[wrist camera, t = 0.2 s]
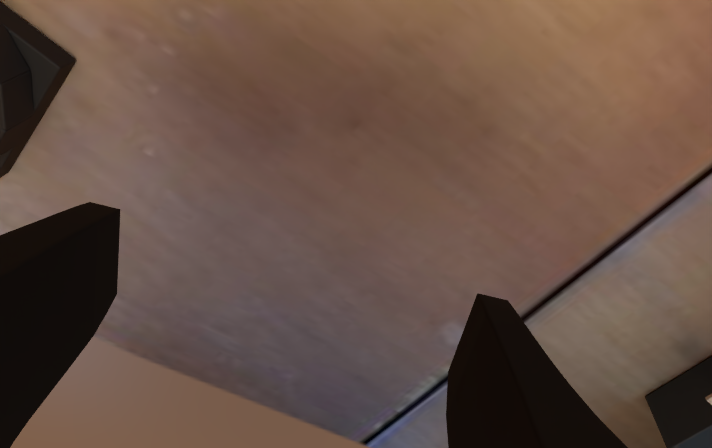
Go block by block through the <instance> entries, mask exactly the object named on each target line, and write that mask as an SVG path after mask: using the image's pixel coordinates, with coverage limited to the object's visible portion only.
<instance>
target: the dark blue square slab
mask: <svg viewBox="0 0 712 448" xmlns="http://www.w3.org/2000/svg"><path fill="white" fill-rule="evenodd" d="M645 398H646V400H647V403H648V405H649V407H650V410H651V412H652V414H653V417H654V419H655V421H656V424H657V426H658V428H659V431H660V433H661V435H662V438H663V440H664V442H665V445H666V447H667V448H712V357H710V358H708V359H707V360H705V361H704V362H702V363H700V364H699V365H697V366H695V367H694V368H692V369H690V370H689V371H687V372H685V373H684V374H682V375H680V376H679V377H677V378H675V379H674V380H672V381H670V382H669V383H667V384H666V385H664V386H662V387H661V388H659V389H657V390H656V391H654V392H652V393H651V394H649V395H647V396H646V397H645Z"/></svg>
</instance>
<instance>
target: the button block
mask: <svg viewBox="0 0 712 448" xmlns="http://www.w3.org/2000/svg"><path fill="white" fill-rule="evenodd" d="M74 63H75V59H74V58H73V57H71V56H70V55H69V54H67V53H66V52H65V51H64V50H62V49H61V48H60V47H58V46H57V45H56V44H54V43H53V42H52V41H50V40H49V39H48V38H47V37H45V36H44V35H43V34H41V33H40V32H39V31H37V30H36V29H35V28H33V27H32V26H31V25H30V24H28V23H27V22H26V21H24V20H23V19H22V18H20V17H19V16H18V15H16V14H15V13H14V12H12V11H11V10H10V9H9V8H7V7H6V6H5V5H3V4H2V3H1V2H0V178H1V177H2V176H4V175H5V174H7V173H8V172H9V171H10V169H11V167H12V166H13V164H14V162H15V161H16V159H17V157H18V156H19V154H20V152H21V151H22V149H23V147H24V146H25V144H26V142H27V141H28V139H29V137H30V136H31V134H32V133H33V131H34V129H35V128H36V126H37V124H38V123H39V121H40V119H41V118H42V116H43V114H44V113H45V111H46V109H47V108H48V106H49V104H50V103H51V101H52V100H53V98H54V96H55V95H56V93H57V91H58V90H59V88H60V86H61V85H62V83H63V81H64V80H65V78H66V76H67V75H68V73H69V71H70V70H71V68H72V66H73V65H74Z"/></svg>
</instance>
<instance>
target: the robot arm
mask: <svg viewBox="0 0 712 448" xmlns="http://www.w3.org/2000/svg"><path fill="white" fill-rule="evenodd" d="M119 227H120V209H116V208H112V207H108V206H104V205H99V204H95V203H91V202H89V203H86V204H82V205H79V206H76V207H73V208H71V209H68V210H65V211H62V212H60V213H57V214H55V215H52V216H49V217H47V218H44V219H42V220H39V221H37V222H34V223H31V224H29V225H26V226H24V227H21V228H18V229H16V230H13V231H10V232H8V233H5V234H3V235H0V448H10V447H11V445H12V444H13V442H14V440H15V439H16V438H17V436H18V435H19V433H20V432H21V430H22V429H23V428H24V426H25V425H26V423H27V422H28V421H29V419H30V418H31V417H32V415H33V414H34V413H35V411H36V410H37V409H38V408H39V406H40V405H41V404H42V402H43V401H44V400H45V399H46V397H47V396H48V395H49V393H50V392H51V391H52V389H53V388H54V387H55V385H56V384H57V383H58V381H59V380H60V379H61V378H62V377H63V375H64V374H65V373H66V371H67V370H68V369H69V367H70V366H71V365H72V363H73V362H74V361H75V360H76V358H77V357H78V356H79V354H80V353H81V351H82V350H83V349H84V348H85V346H86V345H87V344H88V342H89V341H90V340H91V338H92V337H93V335H94V334H95V332H96V331H97V329H98V327H99V325H100V324H101V322H102V320H103V319H104V317H105V315H106V313H107V311H108V309H109V308H110V306H111V304H112V302H113V300H114V298H115V296H116V295H117V278H118V253H119ZM446 419H447V433H448V445H449V448H627V446H626V445H625V444H624V443H623V442H622V441H621V440H620V439H619V438H618V437H617V436H616V435H615V434H614V433H613V432H612V431H611V430H610V429H609V428H608V427H607V426H606V425H605V424H604V423H603V422H602V421H601V420H600V419H599V418H598V417H597V416H596V415H595V413H594V412H593V411H592V410H591V409H590V408H589V407H588V406H587V404H586V403H585V402H584V401H583V400H582V398H581V397H580V396H579V395H578V394H577V393H576V391H575V390H574V389H573V388H572V387H571V385H570V384H569V383H568V382H567V380H566V379H565V378H564V377H563V375H562V374H561V373H560V372H559V370H558V369H557V368H556V366H555V365H554V364H553V362H552V361H551V360H550V358H549V357H548V356H547V354H546V353H545V352H544V350H543V349H542V348H541V346H540V345H539V343H538V342H537V341H536V339H535V338H534V336H533V335H532V334H531V332H530V331H529V329H528V328H527V326H526V325H525V324H524V322H523V321H522V319H521V318H520V317H519V315H518V314H517V312H516V311H515V310H514V308H513V307H512V305H511V304H510V303H509V302H508V300H503V299H499V298H495V297H491V296H486V295H482V294H477V296H476V299H475V302H474V304H473V307H472V310H471V312H470V315H469V318H468V320H467V323H466V326H465V328H464V331H463V334H462V336H461V339H460V342H459V344H458V347H457V350H456V352H455V355H454V358H453V360H452V363H451V366H450V369H449V371H448V388H447V410H446Z"/></svg>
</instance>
